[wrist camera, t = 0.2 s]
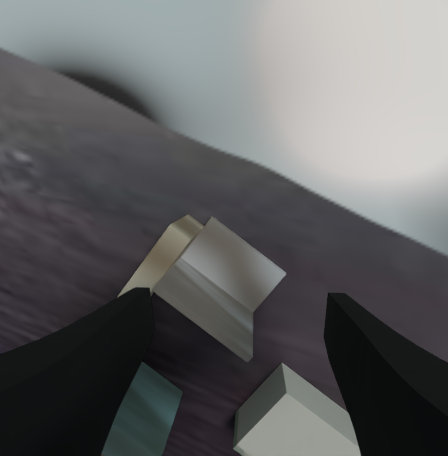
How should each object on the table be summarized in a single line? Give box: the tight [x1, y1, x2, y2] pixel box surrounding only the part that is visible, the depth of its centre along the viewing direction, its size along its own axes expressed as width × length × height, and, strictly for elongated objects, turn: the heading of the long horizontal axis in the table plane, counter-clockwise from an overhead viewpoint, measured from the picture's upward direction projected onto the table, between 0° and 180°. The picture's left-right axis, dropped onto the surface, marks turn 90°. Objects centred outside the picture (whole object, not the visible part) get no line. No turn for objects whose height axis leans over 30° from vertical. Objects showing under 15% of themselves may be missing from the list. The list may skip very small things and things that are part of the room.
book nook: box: [101, 214, 286, 456], centre depth 21 cm, size 18×8×6 cm, turn 143°
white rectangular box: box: [233, 363, 361, 456], centre depth 22 cm, size 6×8×4 cm
